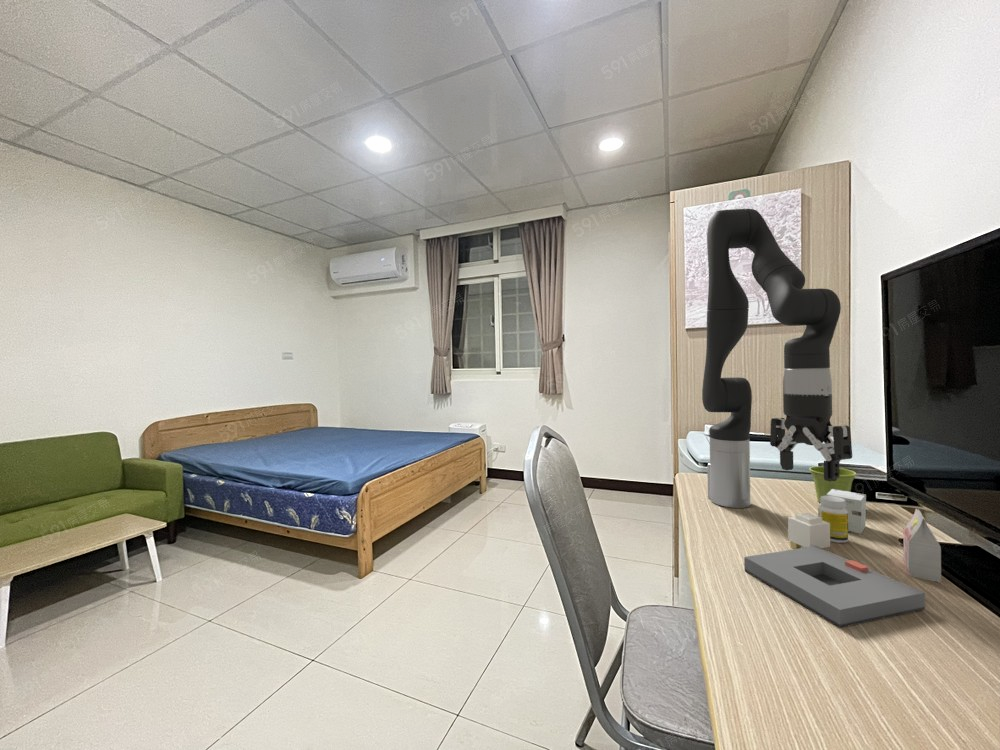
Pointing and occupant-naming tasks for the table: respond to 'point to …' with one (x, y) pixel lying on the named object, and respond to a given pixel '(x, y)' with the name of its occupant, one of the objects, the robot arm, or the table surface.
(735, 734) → the table surface
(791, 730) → the table surface
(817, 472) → the plant pot
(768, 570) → the socket
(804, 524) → the plug
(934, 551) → the tea bag
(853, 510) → the skincare box
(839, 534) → the supplement bottle
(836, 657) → the table surface
